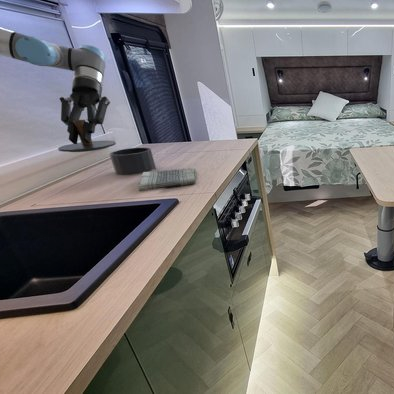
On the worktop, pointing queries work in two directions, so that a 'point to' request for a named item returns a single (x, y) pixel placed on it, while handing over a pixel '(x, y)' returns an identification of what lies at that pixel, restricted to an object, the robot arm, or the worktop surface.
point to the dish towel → (167, 178)
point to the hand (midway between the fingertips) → (79, 141)
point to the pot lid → (83, 145)
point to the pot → (132, 161)
